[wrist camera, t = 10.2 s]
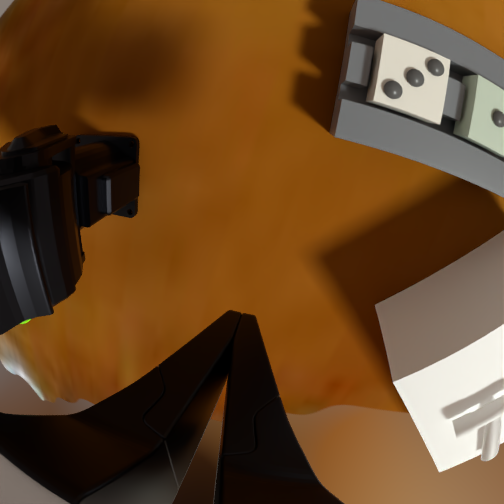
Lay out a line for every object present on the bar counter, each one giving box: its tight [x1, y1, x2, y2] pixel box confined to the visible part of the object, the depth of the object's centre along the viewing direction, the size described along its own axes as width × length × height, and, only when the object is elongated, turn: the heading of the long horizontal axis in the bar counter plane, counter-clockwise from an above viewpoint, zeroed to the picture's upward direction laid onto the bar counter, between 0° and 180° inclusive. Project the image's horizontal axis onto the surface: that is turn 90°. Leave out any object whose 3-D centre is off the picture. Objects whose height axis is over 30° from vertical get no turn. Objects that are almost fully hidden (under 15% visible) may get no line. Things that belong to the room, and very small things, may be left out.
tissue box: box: [375, 230, 504, 472], centre depth 19 cm, size 14×25×11 cm, turn 36°
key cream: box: [366, 33, 450, 124], centre depth 12 cm, size 4×4×2 cm
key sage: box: [453, 75, 504, 158], centre depth 12 cm, size 4×4×2 cm
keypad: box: [329, 0, 504, 197], centre depth 13 cm, size 19×9×4 cm, turn 81°
